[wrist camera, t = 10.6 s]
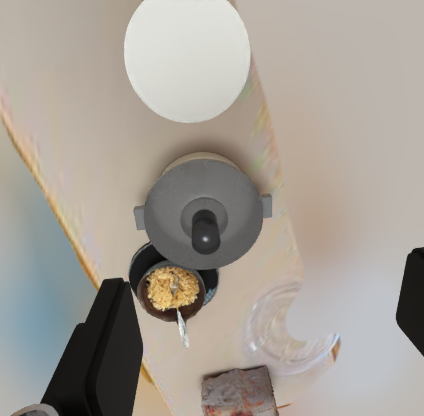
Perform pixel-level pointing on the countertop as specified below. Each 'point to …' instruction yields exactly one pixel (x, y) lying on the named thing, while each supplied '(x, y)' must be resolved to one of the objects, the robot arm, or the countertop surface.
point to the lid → (203, 214)
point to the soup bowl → (170, 287)
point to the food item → (239, 394)
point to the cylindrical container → (187, 57)
